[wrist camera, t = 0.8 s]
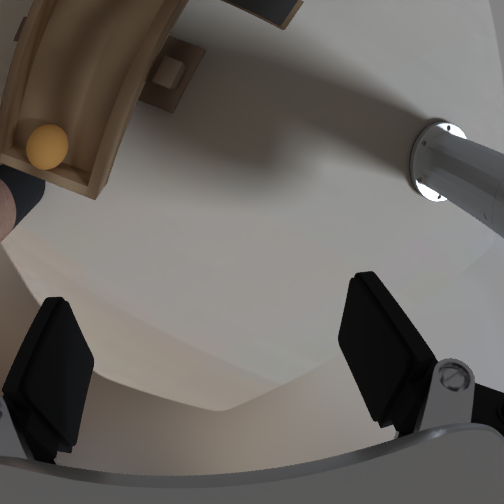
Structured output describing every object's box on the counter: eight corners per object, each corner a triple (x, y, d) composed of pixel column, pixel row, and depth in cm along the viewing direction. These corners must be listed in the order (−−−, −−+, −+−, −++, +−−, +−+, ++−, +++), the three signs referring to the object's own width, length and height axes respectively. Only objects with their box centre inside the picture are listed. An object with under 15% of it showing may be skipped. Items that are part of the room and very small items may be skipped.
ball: (80, 124, 22) (59, 143, 19) (70, 162, 25) (52, 184, 22) (44, 112, 21) (20, 129, 18) (37, 149, 23) (16, 170, 20)
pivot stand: (205, 51, 29) (207, 36, 20) (173, 112, 32) (162, 122, 23) (72, 8, 23) (32, -11, 14) (44, 67, 26) (-2, 67, 17)
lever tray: (300, -4, 21) (321, -16, 16) (183, 197, 33) (177, 232, 28) (111, -70, 14) (87, -91, 9) (25, 136, 26) (-8, 159, 20)
